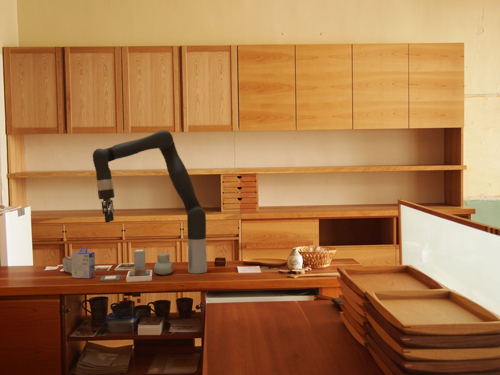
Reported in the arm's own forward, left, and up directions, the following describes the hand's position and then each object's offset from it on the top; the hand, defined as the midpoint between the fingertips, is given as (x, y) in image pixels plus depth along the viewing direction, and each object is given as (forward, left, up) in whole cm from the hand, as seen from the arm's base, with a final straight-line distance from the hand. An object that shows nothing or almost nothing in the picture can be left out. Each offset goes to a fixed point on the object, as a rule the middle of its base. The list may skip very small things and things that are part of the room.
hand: (109, 221), depth 226 cm
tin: (+21, -11, -28) cm, 37 cm away
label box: (-14, +4, -27) cm, 31 cm away
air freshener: (-26, +1, -28) cm, 38 cm away
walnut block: (-14, +10, -27) cm, 32 cm away
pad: (0, +5, -27) cm, 28 cm away
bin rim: (-14, +7, -27) cm, 31 cm away
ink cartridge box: (+13, -1, -28) cm, 31 cm away
